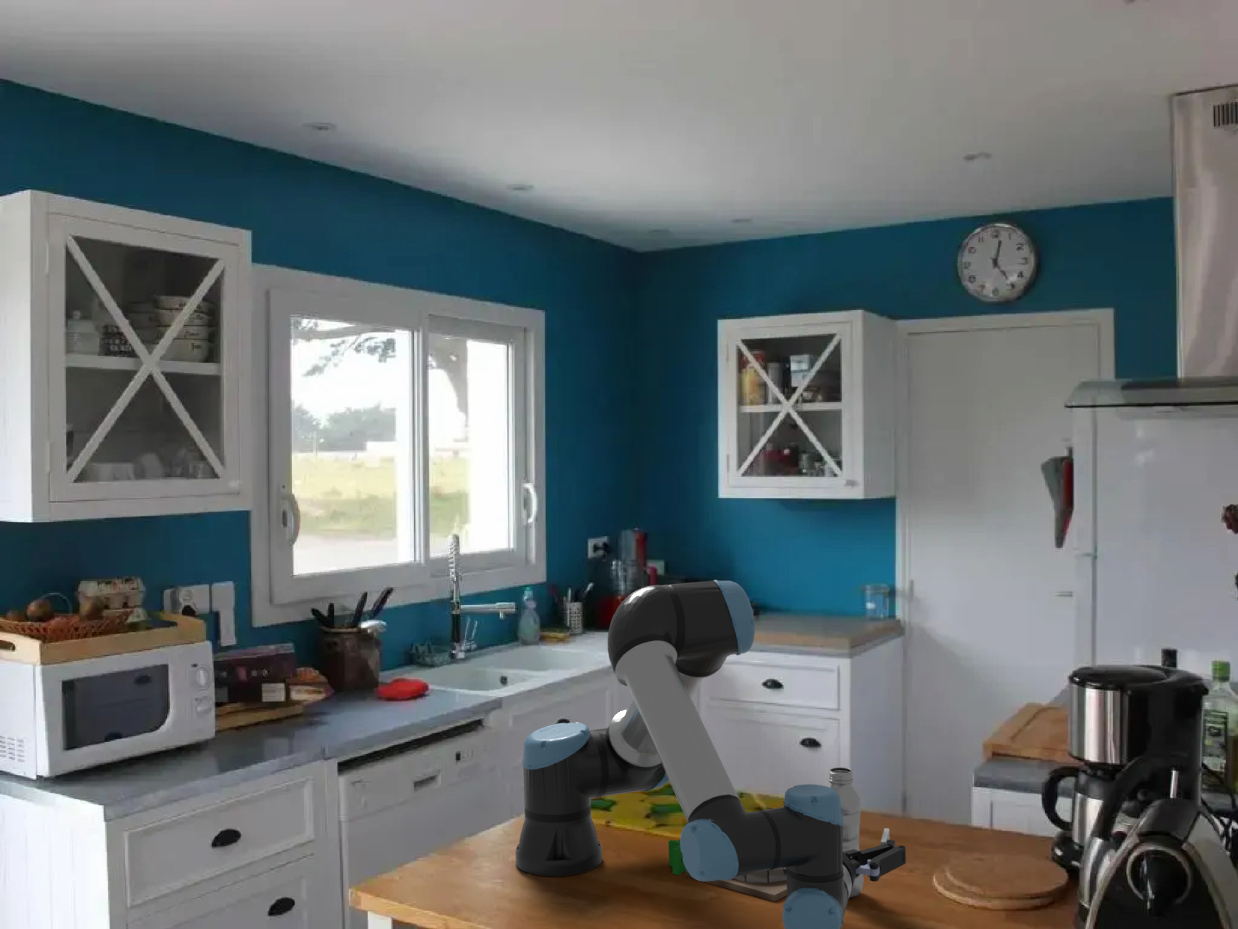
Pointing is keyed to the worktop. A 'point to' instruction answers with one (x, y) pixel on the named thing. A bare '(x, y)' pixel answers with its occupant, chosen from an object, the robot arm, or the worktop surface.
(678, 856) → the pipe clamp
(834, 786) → the plastic bottle
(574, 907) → the worktop surface
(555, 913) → the worktop surface
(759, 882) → the ring board
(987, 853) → the worktop surface
